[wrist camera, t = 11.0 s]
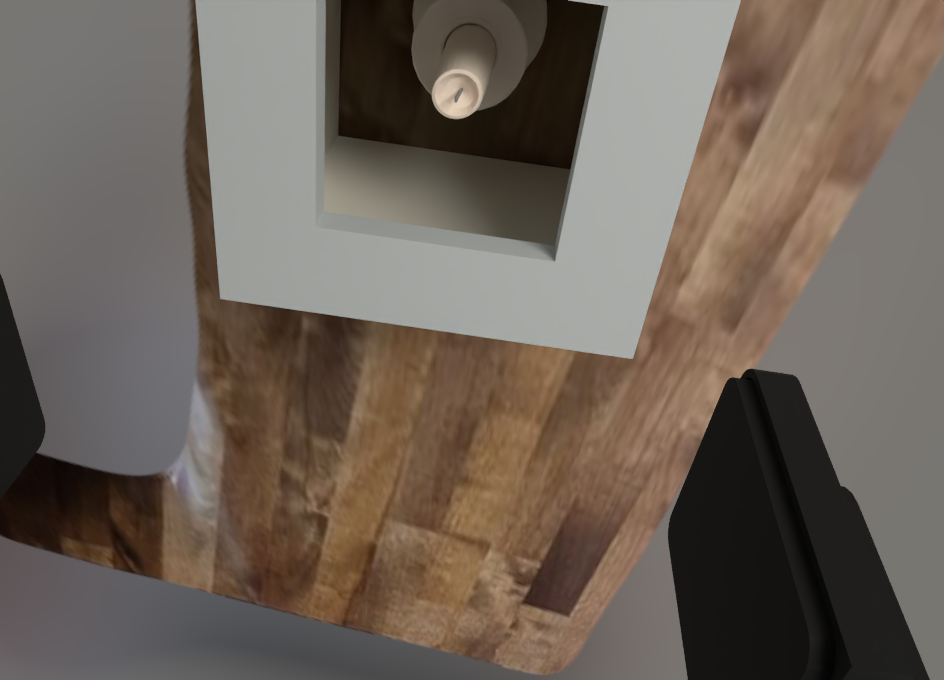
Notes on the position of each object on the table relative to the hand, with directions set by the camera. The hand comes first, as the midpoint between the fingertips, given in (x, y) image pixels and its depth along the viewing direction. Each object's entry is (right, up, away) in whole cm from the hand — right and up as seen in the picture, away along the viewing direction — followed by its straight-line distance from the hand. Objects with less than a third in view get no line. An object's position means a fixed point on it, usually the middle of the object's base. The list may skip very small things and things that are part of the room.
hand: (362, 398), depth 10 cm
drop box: (+2, +13, +20) cm, 24 cm away
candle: (+2, +13, +20) cm, 24 cm away
